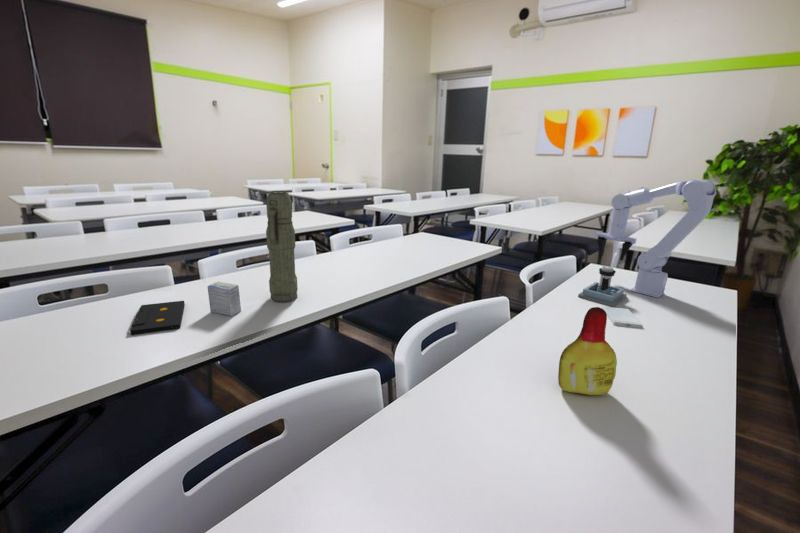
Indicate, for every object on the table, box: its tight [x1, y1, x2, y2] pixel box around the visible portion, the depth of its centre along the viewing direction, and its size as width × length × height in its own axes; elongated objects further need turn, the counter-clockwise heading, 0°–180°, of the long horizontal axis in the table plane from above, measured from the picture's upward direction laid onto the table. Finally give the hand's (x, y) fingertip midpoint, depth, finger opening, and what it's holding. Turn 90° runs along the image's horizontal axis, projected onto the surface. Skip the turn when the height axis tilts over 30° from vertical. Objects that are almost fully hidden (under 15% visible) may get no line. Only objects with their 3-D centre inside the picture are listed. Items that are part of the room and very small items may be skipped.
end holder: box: [577, 281, 628, 308], centre depth 144 cm, size 12×14×3 cm
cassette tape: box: [129, 300, 186, 336], centre depth 115 cm, size 18×12×2 cm, turn 24°
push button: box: [595, 265, 617, 295], centre depth 144 cm, size 7×5×10 cm
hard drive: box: [601, 306, 644, 329], centre depth 127 cm, size 2×8×12 cm
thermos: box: [265, 190, 298, 303], centre depth 128 cm, size 9×12×35 cm
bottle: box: [557, 306, 618, 396], centre depth 86 cm, size 12×6×20 cm, turn 86°
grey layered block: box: [207, 281, 242, 317], centre depth 120 cm, size 8×4×9 cm, turn 71°
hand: (611, 257), depth 161 cm, fingers open, 7 cm apart
